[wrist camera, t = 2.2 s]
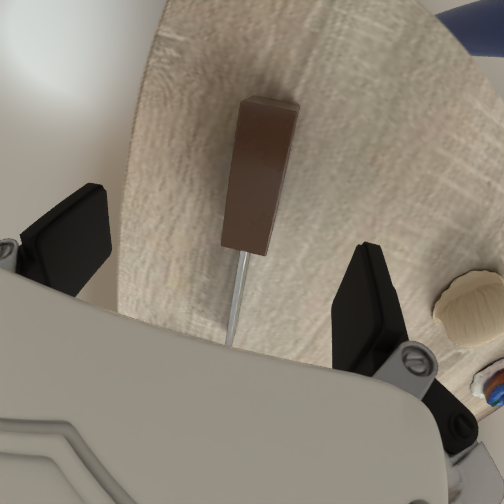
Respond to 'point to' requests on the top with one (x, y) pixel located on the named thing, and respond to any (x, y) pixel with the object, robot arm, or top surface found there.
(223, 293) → the top surface
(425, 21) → the top surface
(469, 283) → the decorative ornament
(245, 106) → the knife
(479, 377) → the dessert
